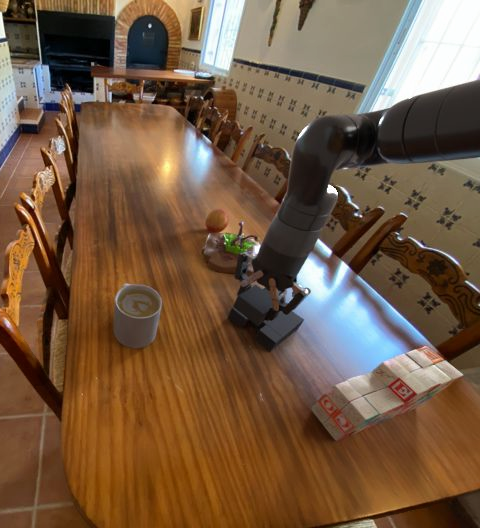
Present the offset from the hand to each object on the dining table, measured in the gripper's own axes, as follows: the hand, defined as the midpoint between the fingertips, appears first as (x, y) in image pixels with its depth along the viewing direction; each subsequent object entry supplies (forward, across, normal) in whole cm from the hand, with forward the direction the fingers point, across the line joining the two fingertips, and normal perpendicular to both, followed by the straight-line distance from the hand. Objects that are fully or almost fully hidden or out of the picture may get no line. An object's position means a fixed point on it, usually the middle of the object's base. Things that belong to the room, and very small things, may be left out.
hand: (254, 308), depth 61 cm
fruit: (+11, -35, +31) cm, 48 cm away
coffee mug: (+11, -17, -18) cm, 27 cm away
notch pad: (+11, 0, +9) cm, 14 cm away
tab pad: (+1, 0, +1) cm, 1 cm away
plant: (+11, -22, +25) cm, 35 cm away
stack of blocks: (+11, +24, +8) cm, 28 cm away
